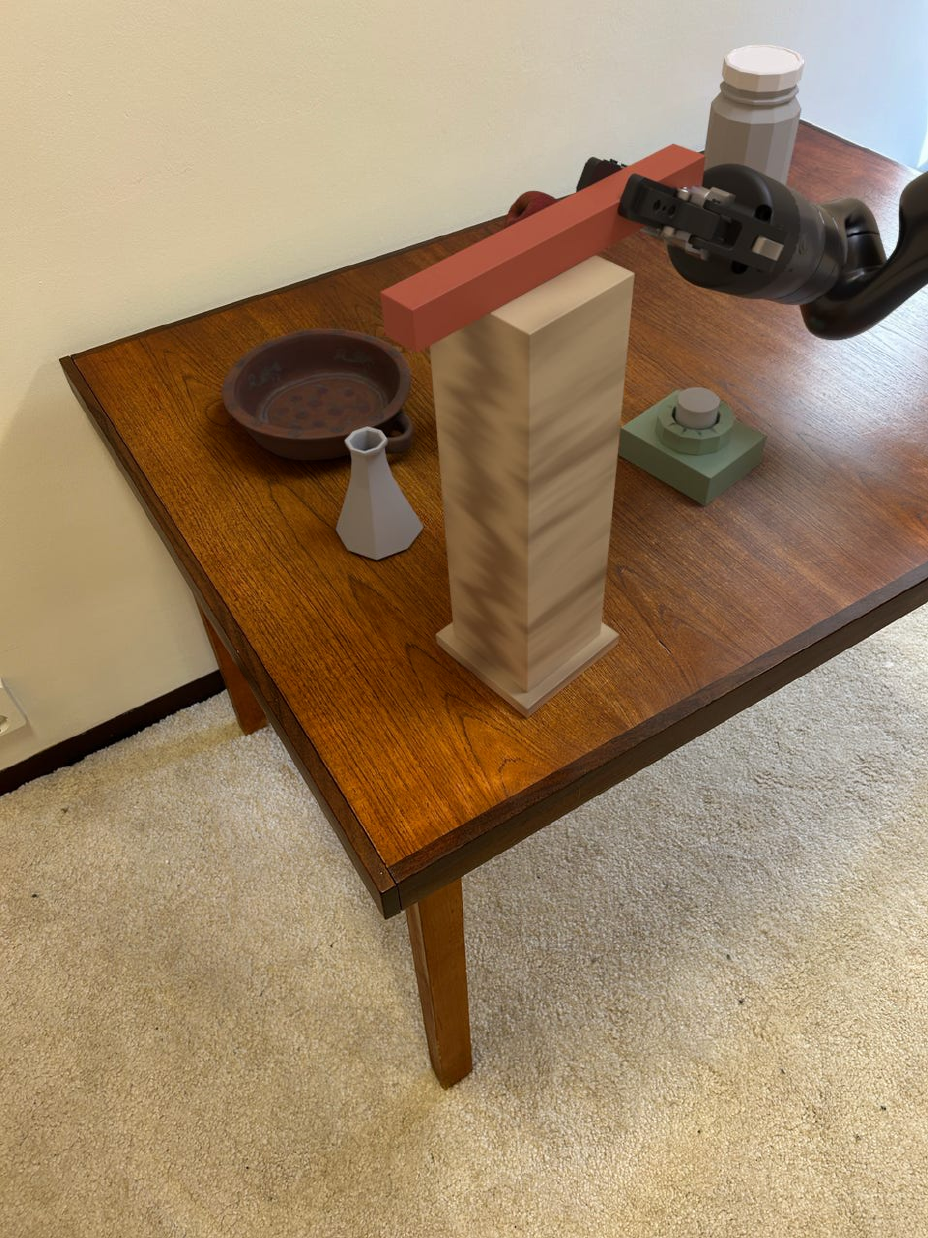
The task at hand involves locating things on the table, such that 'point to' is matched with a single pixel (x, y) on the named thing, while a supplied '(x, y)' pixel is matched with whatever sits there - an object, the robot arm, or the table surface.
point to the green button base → (691, 450)
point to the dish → (320, 392)
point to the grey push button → (697, 408)
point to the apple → (528, 206)
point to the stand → (532, 479)
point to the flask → (374, 501)
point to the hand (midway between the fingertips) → (606, 186)
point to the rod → (524, 254)
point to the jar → (756, 110)
